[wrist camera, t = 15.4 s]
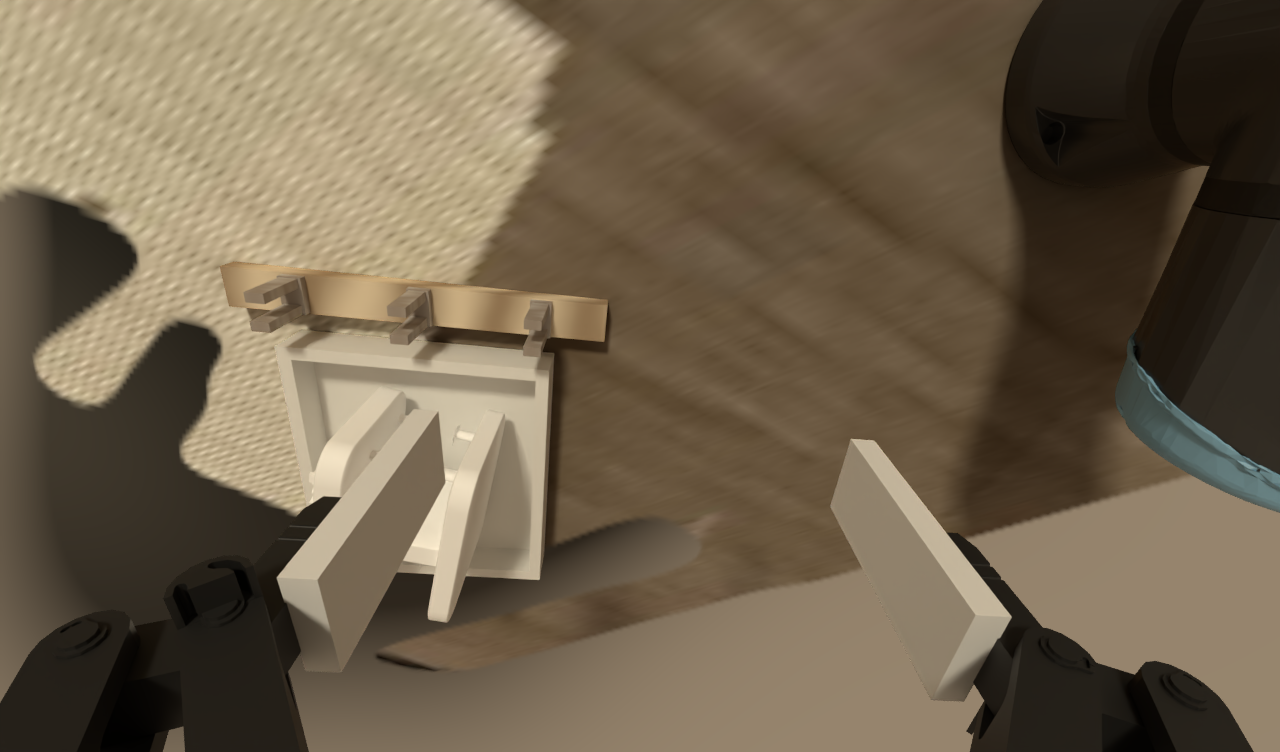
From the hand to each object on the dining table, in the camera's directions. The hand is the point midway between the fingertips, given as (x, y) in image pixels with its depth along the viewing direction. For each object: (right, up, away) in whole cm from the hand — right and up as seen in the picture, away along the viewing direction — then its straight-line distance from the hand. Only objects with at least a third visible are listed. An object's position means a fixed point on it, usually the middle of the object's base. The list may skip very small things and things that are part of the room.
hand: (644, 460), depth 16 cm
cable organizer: (-18, -5, +29) cm, 35 cm away
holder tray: (-18, -4, +29) cm, 35 cm away
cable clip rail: (-17, +9, +23) cm, 30 cm away
